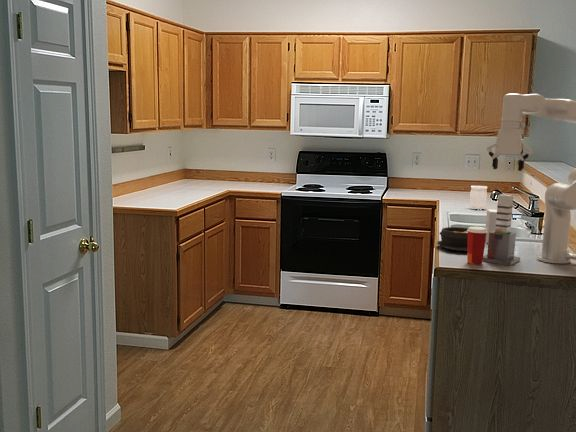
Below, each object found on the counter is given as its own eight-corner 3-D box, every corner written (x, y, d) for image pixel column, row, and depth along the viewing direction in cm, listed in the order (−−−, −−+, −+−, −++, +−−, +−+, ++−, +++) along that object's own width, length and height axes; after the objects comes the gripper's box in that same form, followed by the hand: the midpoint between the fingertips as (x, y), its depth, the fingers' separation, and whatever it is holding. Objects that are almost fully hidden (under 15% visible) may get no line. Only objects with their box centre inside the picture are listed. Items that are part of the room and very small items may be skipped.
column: (509, 240, 251) (513, 195, 248) (505, 241, 247) (509, 196, 245) (498, 238, 254) (502, 194, 251) (494, 239, 250) (498, 195, 247)
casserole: (482, 256, 260) (484, 236, 259) (436, 252, 264) (437, 233, 263) (479, 245, 284) (480, 226, 283) (436, 242, 288) (438, 223, 287)
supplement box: (507, 245, 286) (510, 212, 283) (487, 244, 287) (489, 211, 285) (503, 241, 294) (506, 210, 292) (484, 240, 296) (486, 208, 294)
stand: (520, 261, 253) (522, 232, 251) (510, 265, 243) (513, 236, 242) (490, 256, 260) (493, 228, 258) (480, 260, 251) (482, 232, 249)
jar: (475, 207, 412) (476, 185, 409) (489, 209, 404) (490, 186, 401) (465, 208, 405) (467, 185, 403) (479, 210, 397) (481, 187, 395)
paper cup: (488, 263, 247) (491, 228, 244) (479, 266, 241) (482, 230, 239) (469, 260, 252) (472, 225, 250) (460, 262, 246) (463, 227, 244)
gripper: (536, 126, 244) (532, 170, 246) (491, 125, 253) (488, 167, 256) (531, 126, 237) (527, 171, 240) (486, 125, 247) (482, 168, 250)
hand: (507, 169), depth 248 cm, fingers open, 9 cm apart
